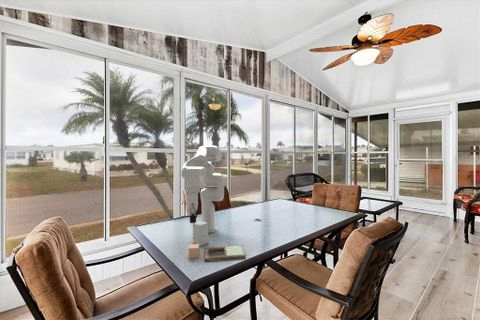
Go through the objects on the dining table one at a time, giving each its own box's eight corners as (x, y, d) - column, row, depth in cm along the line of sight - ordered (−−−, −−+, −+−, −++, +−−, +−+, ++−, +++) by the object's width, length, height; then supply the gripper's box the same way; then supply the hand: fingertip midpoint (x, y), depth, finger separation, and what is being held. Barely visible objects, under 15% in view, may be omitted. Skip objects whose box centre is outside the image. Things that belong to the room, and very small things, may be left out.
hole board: (205, 250, 131) (205, 247, 131) (241, 247, 134) (241, 244, 134) (204, 261, 117) (204, 258, 117) (245, 258, 120) (245, 255, 120)
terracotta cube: (189, 254, 127) (189, 244, 126) (199, 253, 127) (199, 243, 127) (188, 258, 121) (188, 248, 121) (198, 257, 122) (198, 247, 122)
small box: (208, 243, 142) (208, 222, 142) (200, 246, 137) (200, 225, 137) (200, 239, 148) (200, 220, 147) (192, 242, 143) (192, 222, 143)
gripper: (187, 187, 131) (188, 216, 132) (184, 192, 114) (185, 225, 115) (200, 187, 132) (200, 215, 133) (199, 191, 115) (199, 224, 116)
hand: (193, 220), depth 124 cm, fingers open, 9 cm apart
